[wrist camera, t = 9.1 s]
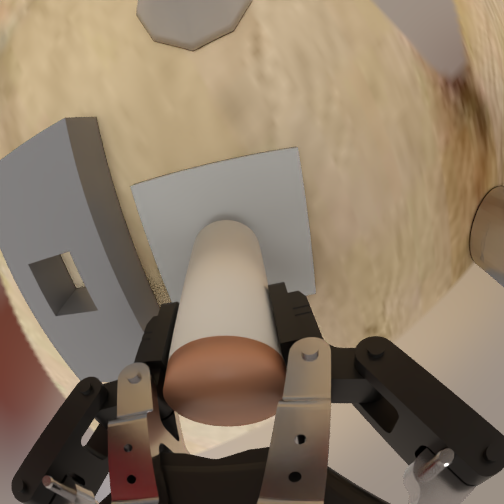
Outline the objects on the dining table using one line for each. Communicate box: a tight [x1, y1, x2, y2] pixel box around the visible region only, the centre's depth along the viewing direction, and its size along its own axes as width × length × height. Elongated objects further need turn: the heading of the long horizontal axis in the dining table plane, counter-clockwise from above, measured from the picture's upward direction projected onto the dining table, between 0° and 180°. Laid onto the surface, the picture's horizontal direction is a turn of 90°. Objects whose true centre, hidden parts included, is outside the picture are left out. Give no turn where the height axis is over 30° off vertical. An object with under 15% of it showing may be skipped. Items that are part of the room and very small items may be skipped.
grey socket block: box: [0, 117, 160, 382], centre depth 17 cm, size 10×20×4 cm, turn 11°
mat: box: [130, 147, 316, 303], centre depth 19 cm, size 11×11×1 cm
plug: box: [163, 220, 287, 426], centre depth 12 cm, size 4×4×10 cm
